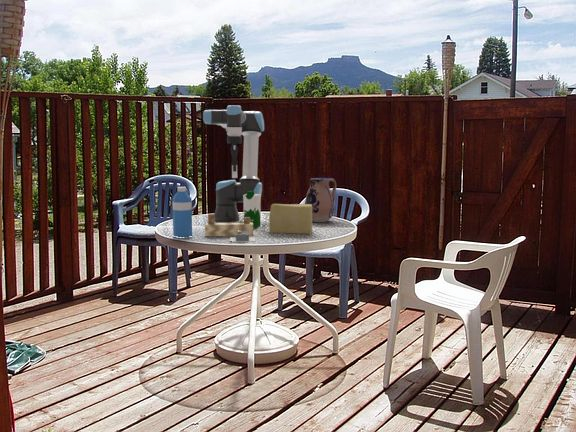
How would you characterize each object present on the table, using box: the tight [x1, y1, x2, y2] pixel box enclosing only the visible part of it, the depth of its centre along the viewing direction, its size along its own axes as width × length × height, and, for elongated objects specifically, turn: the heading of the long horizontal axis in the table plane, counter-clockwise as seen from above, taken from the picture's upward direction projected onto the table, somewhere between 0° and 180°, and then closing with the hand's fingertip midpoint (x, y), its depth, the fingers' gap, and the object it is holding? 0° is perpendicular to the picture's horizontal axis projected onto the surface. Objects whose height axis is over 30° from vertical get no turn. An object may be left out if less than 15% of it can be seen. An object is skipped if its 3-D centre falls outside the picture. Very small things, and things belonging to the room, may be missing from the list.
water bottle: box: [172, 186, 193, 237], centre depth 312 cm, size 9×9×25 cm
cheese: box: [268, 203, 313, 235], centre depth 326 cm, size 22×10×15 cm, turn 84°
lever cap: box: [235, 230, 250, 241], centre depth 306 cm, size 6×10×4 cm, turn 5°
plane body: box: [204, 213, 254, 237], centre depth 318 cm, size 24×6×11 cm, turn 95°
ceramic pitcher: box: [304, 177, 337, 223], centre depth 365 cm, size 18×21×25 cm
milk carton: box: [242, 191, 262, 229], centre depth 343 cm, size 9×9×20 cm
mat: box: [229, 236, 256, 243], centre depth 306 cm, size 12×12×1 cm
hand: (234, 176), depth 327 cm, fingers open, 13 cm apart
